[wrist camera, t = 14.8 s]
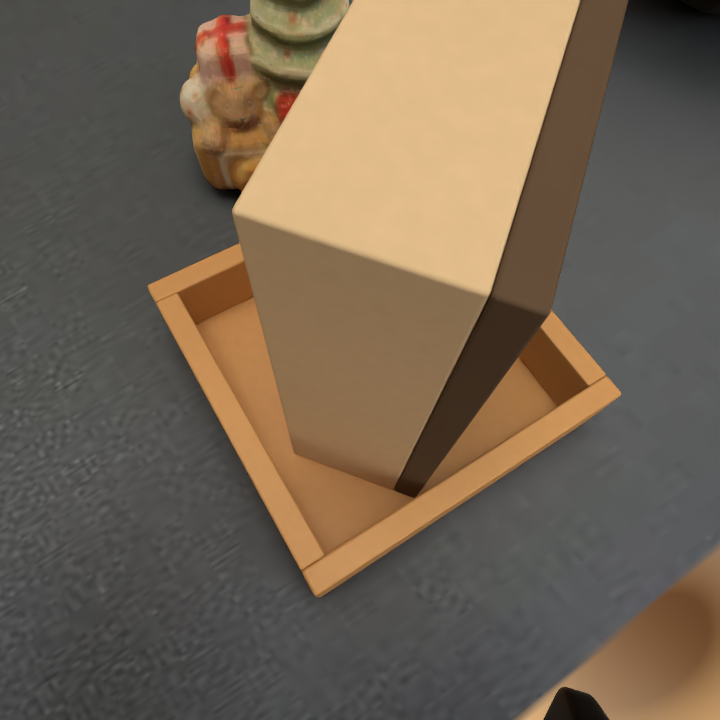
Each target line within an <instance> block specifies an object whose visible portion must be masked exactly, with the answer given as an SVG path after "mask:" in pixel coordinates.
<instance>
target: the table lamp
mask: <svg viewBox="0 0 720 720" xmlns="http://www.w3.org/2000/svg"><path fill="white" fill-rule="evenodd" d="M681 1H683V2H685V3H687V4H688V5H690V6H692V7H694V8H696V9H698V10H700V11H701V12H703V13H718V14H720V0H681Z"/></svg>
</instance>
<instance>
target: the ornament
mask: <svg viewBox="0 0 720 720" xmlns="http://www.w3.org/2000/svg"><path fill="white" fill-rule="evenodd" d="M348 9H349V0H250V12H249V14H248V15H246V16H233V15H221V16H219V17H217V18H216V19H214V20H212V21H209V22H206V23H204V24H202V25H201V26H200V27H199V28H198V32H197V36H196V38H197V39H196V44H195V51H196V56H197V63H196V65H195V66H194V67H193V68H192V70H191V72H190V78H189V80H188V81H186V82H185V83H184V85H183V86H182V89H181V92H180V105H181V109H182V111H183V113H184V115H185V116H186V117H187V118H188V119H189V120H190V122H191V125H192V138H193V145H194V150H195V152H196V155H197V158H198V161H199V163H200V166H201V169H202V172H203V174H204V176H205V178H206V179H207V180H208V181H209V183H211V184H212V185H213V186H214V187H215V188H217V189H239V190H241V191H243V190H244V188H245V186H246V184H247V183H248V181H249V179H250V178H251V176H252V174H253V172H254V171H255V169H256V167H257V165H258V164H259V162H260V160H261V159H262V157H263V155H264V153H265V152H266V150H267V148H268V147H269V145H270V143H271V141H272V140H273V138H274V136H275V134H276V133H277V131H278V129H279V128H280V126H281V124H282V122H283V121H284V119H285V117H286V116H287V114H288V112H289V110H290V109H291V107H292V105H293V104H294V102H295V100H296V98H297V97H298V95H299V93H300V91H301V90H302V88H303V86H304V85H305V83H306V81H307V79H308V78H309V76H310V74H311V73H312V71H313V69H314V67H315V66H316V64H317V62H318V60H319V59H320V57H321V55H322V54H323V52H324V50H325V48H326V47H327V45H328V43H329V42H330V40H331V38H332V36H333V35H334V33H335V31H336V30H337V28H338V26H339V24H340V23H341V21H342V19H343V17H344V16H345V14H346V12H347V11H348Z"/></svg>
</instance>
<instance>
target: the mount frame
mask: <svg viewBox="0 0 720 720" xmlns="http://www.w3.org/2000/svg"><path fill="white" fill-rule="evenodd" d="M148 290H149V292H150V293H151V295H152V297H153V299H154V301H155V303H156V304H157V306H158V308H159V310H160V312H161V314H162V316H163V317H164V319H165V321H166V323H167V325H168V327H169V329H170V330H171V332H172V334H173V336H174V338H175V340H176V341H177V343H178V345H179V347H180V349H181V351H182V353H183V354H184V356H185V358H186V360H187V362H188V364H189V365H190V367H191V369H192V371H193V373H194V375H195V377H196V378H197V380H198V382H199V384H200V386H201V388H202V389H203V391H204V393H205V395H206V397H207V399H208V400H209V402H210V404H211V406H212V408H213V410H214V412H215V413H216V415H217V417H218V419H219V421H220V423H221V424H222V426H223V428H224V430H225V432H226V434H227V436H228V437H229V439H230V441H231V443H232V445H233V447H234V448H235V450H236V452H237V454H238V456H239V458H240V460H241V461H242V463H243V465H244V467H245V469H246V471H247V472H248V474H249V476H250V478H251V480H252V482H253V483H254V485H255V487H256V489H257V491H258V493H259V495H260V496H261V498H262V500H263V502H264V504H265V506H266V507H267V509H268V511H269V513H270V515H271V517H272V519H273V520H274V522H275V524H276V526H277V528H278V530H279V531H280V533H281V535H282V537H283V539H284V541H285V543H286V544H287V546H288V548H289V550H290V552H291V554H292V555H293V557H294V559H295V561H296V563H297V565H298V567H299V568H300V570H301V571H302V573H303V576H304V578H305V579H306V581H307V583H308V585H309V587H310V589H311V590H312V592H313V594H314V595H315V596H316V597H318V598H320V597H322V596H323V595H325V594H326V593H328V592H329V591H331V590H333V589H334V588H336V587H337V586H339V585H340V584H342V583H343V582H345V581H346V580H348V579H349V578H351V577H352V576H354V575H355V574H357V573H358V572H360V571H361V570H363V569H364V568H366V567H367V566H369V565H370V564H372V563H373V562H375V561H376V560H378V559H379V558H381V557H382V556H384V555H385V554H387V553H388V552H390V551H391V550H393V549H394V548H396V547H397V546H399V545H401V544H402V543H404V542H405V541H407V540H408V539H410V538H411V537H413V536H414V535H416V534H417V533H419V532H420V531H422V530H423V529H425V528H426V527H428V526H429V525H431V524H432V523H434V522H435V521H437V520H438V519H440V518H441V517H443V516H444V515H446V514H447V513H449V512H450V511H452V510H453V509H455V508H456V507H458V506H459V505H461V504H462V503H464V502H465V501H467V500H469V499H470V498H472V497H473V496H475V495H476V494H478V493H479V492H481V491H482V490H484V489H485V488H487V487H488V486H490V485H491V484H493V483H494V482H496V481H497V480H499V479H500V478H502V477H503V476H505V475H506V474H508V473H509V472H511V471H512V470H514V469H515V468H517V467H518V466H520V465H521V464H523V463H524V462H526V461H527V460H529V459H530V458H532V457H533V456H535V455H537V454H538V453H540V452H541V451H543V450H544V449H546V448H547V447H549V446H550V445H552V444H553V443H555V442H556V441H558V440H559V439H561V438H562V437H564V436H565V435H567V434H568V433H570V432H571V431H573V430H574V429H576V428H577V427H579V426H580V425H582V424H583V423H585V422H586V421H587V420H589V419H590V418H591V417H593V416H594V415H595V414H597V413H598V412H600V411H601V410H602V409H604V408H605V407H606V406H608V405H609V404H610V403H612V402H613V401H614V400H616V399H617V398H618V397H620V396H621V392H620V391H619V390H618V388H617V387H616V386H615V385H614V384H613V383H612V381H611V380H610V379H609V378H608V377H607V376H605V375H606V374H605V373H604V371H603V370H602V369H601V368H600V367H599V365H598V364H597V363H596V362H595V361H594V360H593V358H592V357H591V356H590V355H589V354H588V353H587V351H586V350H585V349H584V348H583V347H582V345H581V344H580V343H579V342H578V341H577V340H576V338H575V337H574V336H573V335H572V334H571V332H570V331H569V330H568V329H567V328H566V327H565V325H564V324H563V323H562V322H561V321H560V319H559V318H558V317H557V316H556V315H555V314H554V312H553V311H552V310H551V313H550V315H549V316H548V317H547V319H546V320H545V321H544V323H543V324H542V326H541V327H540V328H539V330H538V331H537V332H536V334H535V335H534V336H533V338H532V339H531V341H530V342H529V343H528V345H527V346H526V347H525V349H524V350H523V351H522V353H521V354H520V356H519V357H518V358H517V360H516V361H515V362H514V364H513V365H512V367H511V368H510V369H509V371H508V372H507V373H506V375H505V376H504V377H503V379H502V380H501V382H500V383H499V384H498V386H497V387H496V388H495V390H494V391H493V392H492V394H491V395H490V397H489V398H488V399H487V401H486V402H485V403H484V405H483V406H482V408H481V409H480V410H479V412H478V413H477V414H476V416H475V417H474V418H473V420H472V421H471V423H470V424H469V425H468V427H467V428H466V429H465V431H464V432H463V434H462V435H461V436H460V438H459V439H458V440H457V442H456V443H455V444H454V446H453V447H452V449H451V450H450V451H449V453H448V454H447V455H446V457H445V458H444V459H443V461H442V462H441V464H440V465H439V466H438V468H437V469H436V470H435V472H434V473H433V475H432V476H431V477H430V479H429V480H428V481H427V483H426V484H425V485H424V487H423V488H422V490H421V491H420V492H419V494H418V495H417V496H416V498H412V497H410V496H407V495H404V494H402V493H399V492H396V491H395V490H394V489H393V490H391V489H388V488H386V487H383V486H380V485H377V484H375V483H372V482H369V481H367V480H364V479H361V478H359V477H356V476H353V475H351V474H348V473H345V472H343V471H340V470H337V469H334V468H332V467H329V466H326V465H324V464H321V463H318V462H316V461H313V460H310V459H308V458H305V457H302V456H300V455H297V454H295V453H294V451H293V447H292V443H291V439H290V435H289V432H288V428H287V424H286V420H285V416H284V412H283V408H282V405H281V401H280V397H279V393H278V389H277V385H276V381H275V377H274V374H273V370H272V366H271V362H270V358H269V354H268V350H267V346H266V343H265V339H264V335H263V331H262V327H261V323H260V319H259V316H258V312H257V308H256V304H255V300H254V296H253V292H252V288H251V285H250V281H249V277H248V273H247V269H246V265H245V261H244V258H243V254H242V250H241V246H240V243H239V244H236V245H234V246H232V247H230V248H228V249H226V250H223V251H221V252H219V253H217V254H215V255H213V256H210V257H208V258H206V259H204V260H202V261H199V262H197V263H195V264H193V265H191V266H189V267H186V268H184V269H182V270H180V271H178V272H176V273H173V274H171V275H169V276H167V277H165V278H162V279H160V280H158V281H156V282H154V283H152V284H149V285H148ZM604 376H605V377H604Z"/></svg>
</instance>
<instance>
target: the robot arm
mask: <svg viewBox="0 0 720 720" xmlns="http://www.w3.org/2000/svg"><path fill="white" fill-rule="evenodd" d="M544 720H609V718H608V717H607V716H606V714H605V713H604V711H603V710H602V708H601V707H600V705H599V704H598V703H597V701H596V700H595V699H594V698H593V697H592V696H591V695H589V694H587V693H584V692H581V691H578V690H574V689H571V688H568V687H562V688H560V689H559V690H558V692H557V693H556V695H555V697H554V699H553V701H552V703H551V706H550V707H549V709H548V711H547V713H546V716H545V718H544Z"/></svg>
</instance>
